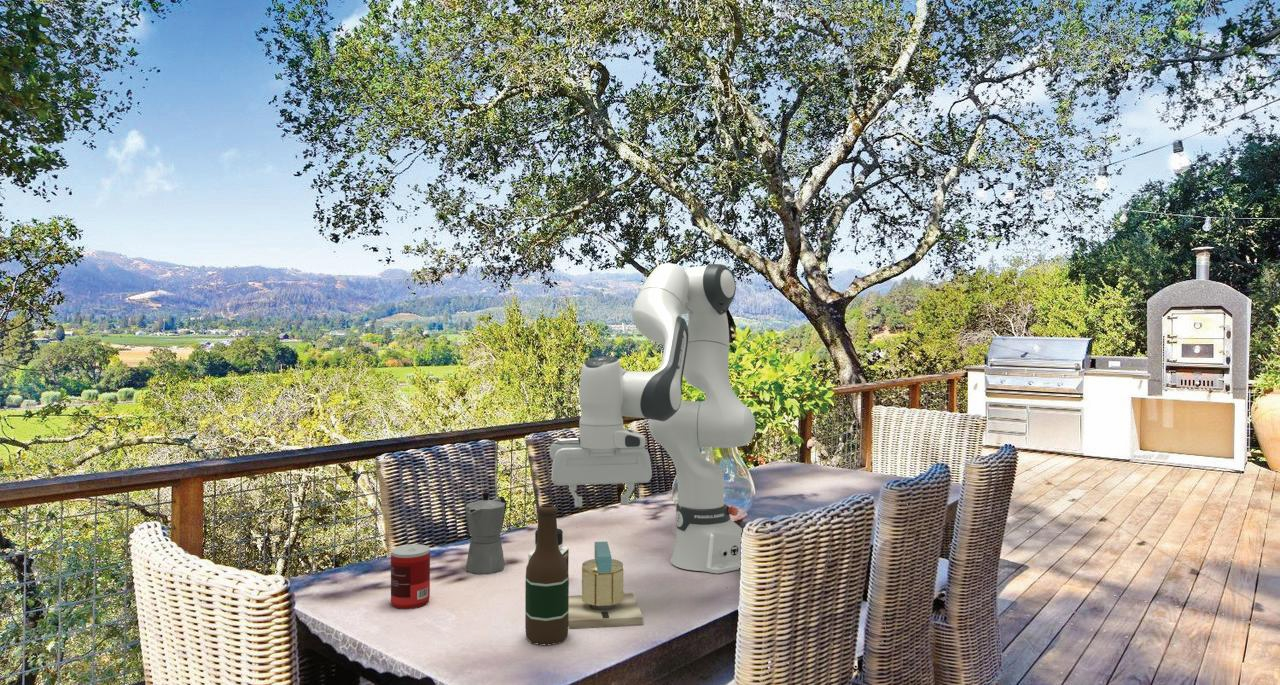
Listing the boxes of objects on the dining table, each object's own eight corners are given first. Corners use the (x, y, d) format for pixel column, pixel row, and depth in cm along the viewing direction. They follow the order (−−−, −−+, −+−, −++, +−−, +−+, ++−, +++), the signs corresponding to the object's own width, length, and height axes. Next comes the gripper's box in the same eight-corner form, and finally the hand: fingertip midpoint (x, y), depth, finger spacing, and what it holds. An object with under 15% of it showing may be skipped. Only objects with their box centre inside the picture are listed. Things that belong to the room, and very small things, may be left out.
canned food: (431, 595, 167) (431, 543, 167) (427, 608, 159) (428, 553, 159) (393, 597, 165) (393, 544, 165) (388, 610, 158) (388, 555, 157)
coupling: (583, 608, 150) (583, 557, 150) (581, 590, 161) (581, 542, 161) (625, 607, 151) (625, 556, 151) (620, 588, 162) (620, 541, 162)
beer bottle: (568, 645, 140) (568, 510, 140) (523, 646, 140) (524, 511, 140) (568, 629, 148) (569, 501, 148) (526, 630, 148) (527, 501, 147)
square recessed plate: (564, 603, 162) (565, 571, 162) (632, 600, 164) (632, 568, 164) (568, 628, 148) (569, 593, 148) (642, 624, 151) (643, 590, 150)
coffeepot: (487, 579, 178) (488, 499, 178) (452, 574, 181) (452, 495, 181) (521, 560, 192) (522, 486, 192) (488, 556, 195) (488, 483, 195)
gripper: (550, 441, 155) (550, 511, 156) (653, 438, 158) (653, 507, 159) (549, 436, 161) (549, 503, 162) (648, 433, 164) (648, 499, 165)
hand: (601, 505), depth 160 cm, fingers open, 8 cm apart
